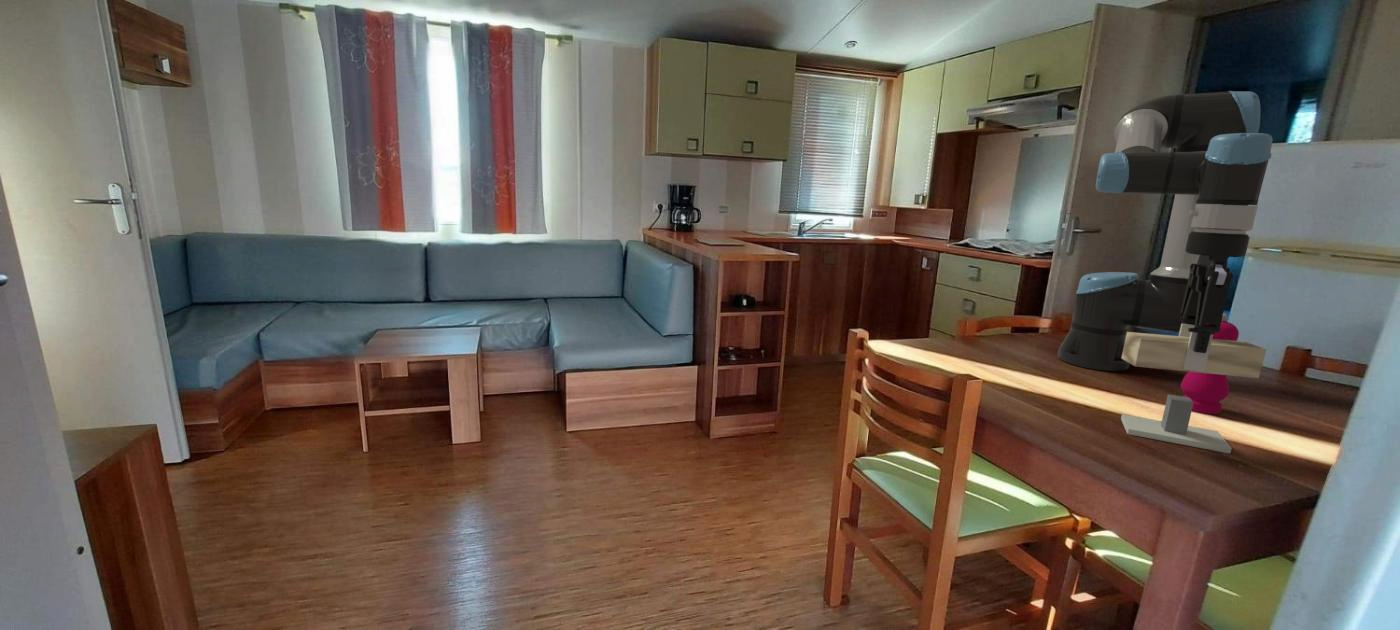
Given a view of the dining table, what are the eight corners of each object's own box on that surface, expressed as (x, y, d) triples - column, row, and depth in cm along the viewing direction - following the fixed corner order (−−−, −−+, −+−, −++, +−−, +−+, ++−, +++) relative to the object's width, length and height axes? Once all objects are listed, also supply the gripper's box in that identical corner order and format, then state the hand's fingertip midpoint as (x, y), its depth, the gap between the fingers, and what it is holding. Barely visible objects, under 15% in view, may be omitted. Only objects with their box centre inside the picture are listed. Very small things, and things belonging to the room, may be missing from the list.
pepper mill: (1232, 417, 109) (1258, 318, 105) (1190, 413, 111) (1214, 315, 106) (1208, 403, 116) (1231, 310, 112) (1168, 400, 118) (1189, 307, 113)
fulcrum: (1120, 418, 107) (1128, 384, 106) (1216, 436, 100) (1225, 399, 99) (1127, 434, 100) (1135, 397, 99) (1230, 453, 94) (1240, 414, 92)
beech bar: (1121, 358, 102) (1127, 331, 101) (1238, 369, 98) (1245, 341, 97) (1135, 366, 97) (1141, 338, 96) (1258, 378, 93) (1266, 349, 92)
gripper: (1176, 227, 102) (1150, 348, 107) (1205, 232, 86) (1173, 375, 91) (1231, 230, 99) (1201, 355, 104) (1272, 236, 82) (1234, 384, 87)
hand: (1188, 364), depth 97 cm, fingers closed on beech bar, 6 cm apart
